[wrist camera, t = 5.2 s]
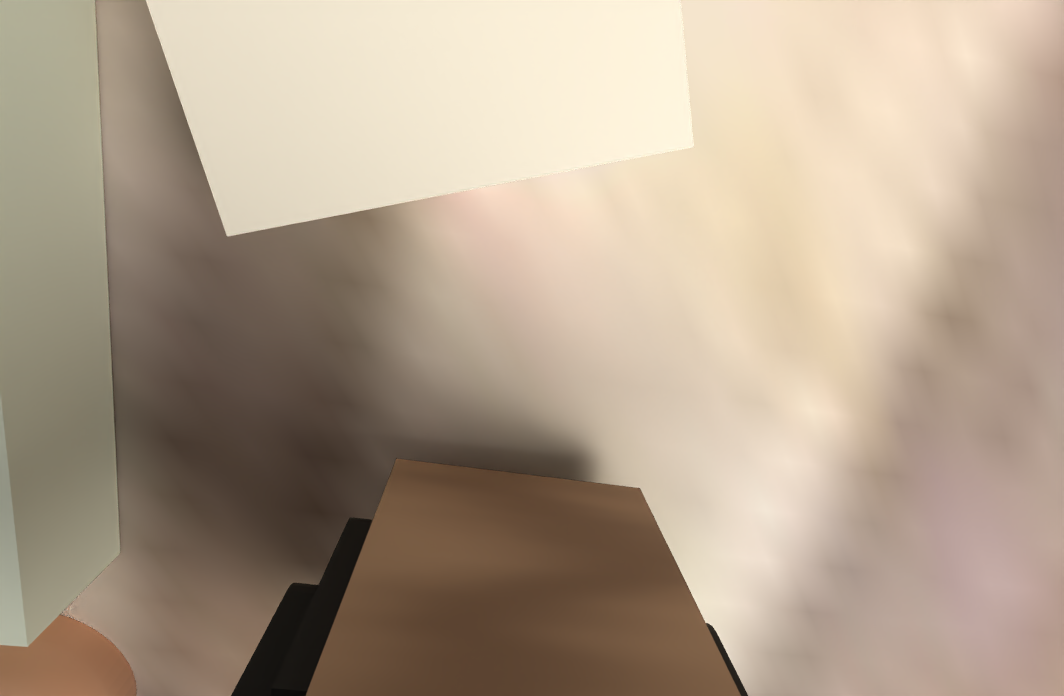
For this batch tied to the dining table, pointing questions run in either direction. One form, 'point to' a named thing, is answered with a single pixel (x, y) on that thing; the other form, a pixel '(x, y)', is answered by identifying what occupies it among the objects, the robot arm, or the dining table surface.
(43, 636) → the peach rounded capsule
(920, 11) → the dining table surface
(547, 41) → the cream block
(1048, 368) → the dining table surface
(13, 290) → the tray
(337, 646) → the walnut block
